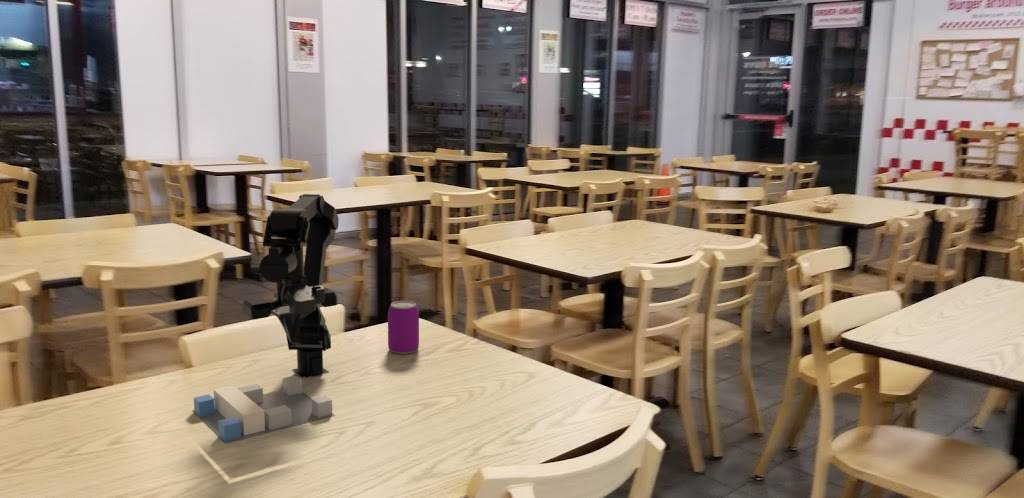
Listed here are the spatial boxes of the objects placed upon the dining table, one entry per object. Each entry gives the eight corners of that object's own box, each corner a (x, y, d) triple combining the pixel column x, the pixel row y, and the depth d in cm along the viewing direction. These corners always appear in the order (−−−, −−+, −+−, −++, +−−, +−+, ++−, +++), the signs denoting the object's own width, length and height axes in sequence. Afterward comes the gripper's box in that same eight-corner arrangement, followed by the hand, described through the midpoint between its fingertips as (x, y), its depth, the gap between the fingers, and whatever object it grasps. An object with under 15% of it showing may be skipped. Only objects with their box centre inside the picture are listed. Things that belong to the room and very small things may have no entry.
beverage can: (421, 346, 209) (421, 300, 206) (415, 356, 201) (415, 308, 199) (392, 344, 209) (391, 299, 207) (384, 354, 202) (384, 307, 199)
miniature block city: (191, 413, 164) (190, 396, 163) (295, 389, 178) (294, 373, 177) (225, 446, 150) (224, 428, 149) (335, 418, 163) (335, 401, 162)
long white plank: (214, 408, 165) (213, 389, 165) (234, 403, 168) (233, 385, 167) (244, 435, 153) (243, 415, 152) (264, 430, 156) (264, 410, 155)
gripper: (260, 285, 157) (263, 361, 161) (348, 272, 169) (350, 344, 172) (239, 273, 166) (243, 346, 169) (324, 261, 177) (326, 330, 180)
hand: (292, 341), depth 172 cm, fingers closed
